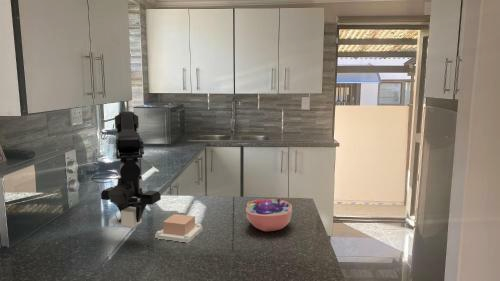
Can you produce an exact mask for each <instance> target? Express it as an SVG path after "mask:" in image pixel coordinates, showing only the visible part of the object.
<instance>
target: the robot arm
mask: <svg viewBox="0 0 500 281" xmlns="http://www.w3.org/2000/svg"><path fill="white" fill-rule="evenodd" d="M139 121H140V120H139V116H138V115H137V114H135V113H134V112H133V111H119V114H116V115H115V116H114V129H115V130H117V132H116V133H117V138H116V139H115V152H116V156H115V159H116V160H119V172H120V173H119V174H120V177H119V178H117V182H116V183H117V184H116V185H115V186H110V187H107V188H105V189H103V190H101V192H100V199H101V200H104V201H109V200H110V201H109V202H110V203H111V204H114V205H115V206H116V207H117V209H118V211H119V213H120V214H121V211H122V210H124V209H125V208H127V207H136V220H137V222H139V221H140V219H141V218H143V214H144V212H145V209H146V207H147V205H153V204H154V205H155V203H157V202H159V201H160V200H162V198H161V193H160V191H159V190H158V191H157V190H148V191H145V192H144V191H143V188H142V187H140V185H141V184H140V180H141V179H142V178H143V177H142V175H141V173H142V172H141V168H140V163H139V162H140V159H142V158H143V155H145V148H144V141H143V139H142V138H141V137H140V135H139V132H138V129H139V127H140V124H139ZM118 222H120V223H121V218H120V219H118Z"/></svg>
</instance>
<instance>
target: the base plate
mask: <svg viewBox="0 0 500 281" xmlns="http://www.w3.org/2000/svg"><path fill="white" fill-rule="evenodd" d="M203 229H204V228H203V225H202V224H201V223H196V216H193V215H187V214H185V215H184V214H177V213H174V214H172V215H170V216H169V217H168V218H166V219H165V220H163V222H162V229H161V230H157V231H156V233H154V239H155V238H158V239H157V240H159V239H165V240H164V241H166V240H173V241H172V242H174V241H179V242H178V243H181V242H186V243H185V244H189V243H191V241H193V239H194V238H196V237H197V235H199V234H200V233H201V232H203ZM195 236H196V237H195ZM188 242H189V243H188Z"/></svg>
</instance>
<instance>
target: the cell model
mask: <svg viewBox="0 0 500 281" xmlns="http://www.w3.org/2000/svg"><path fill="white" fill-rule="evenodd" d="M245 212H246V219H247V220H248V221H249V222H250V224H251V225H252V226H253V227H254V228H256V229H258V230H259V231H260V232H274V231H278V230H282V229H283V228H286V226H287V225H289V223H290V221H291V218H292V214H293V205H292V204H291V203H289V202H288V201H286V200H283V199H280V198H268V199H267V198H266V199H255V200H252V201H248V202H247V203H246V208H245Z"/></svg>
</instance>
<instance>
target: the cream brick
mask: <svg viewBox="0 0 500 281" xmlns="http://www.w3.org/2000/svg"><path fill="white" fill-rule="evenodd" d="M142 218H143V217H142ZM142 218H141V219H140V221H139V222H137V220H136V207H127V208H125V209H124V210H122V211H121V213H120V219H121V222H120V224H121V227H128V228H135V227H137V226H138V225H141V223H143V222H142Z"/></svg>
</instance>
